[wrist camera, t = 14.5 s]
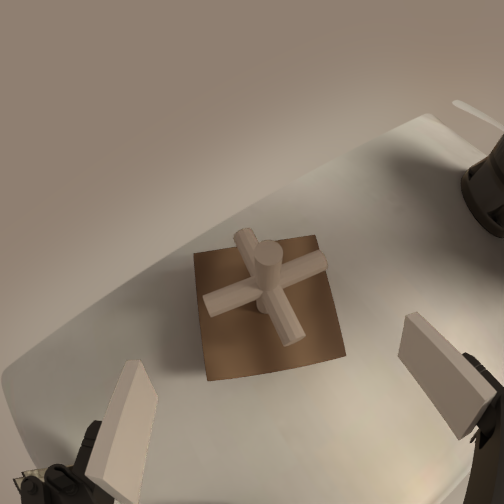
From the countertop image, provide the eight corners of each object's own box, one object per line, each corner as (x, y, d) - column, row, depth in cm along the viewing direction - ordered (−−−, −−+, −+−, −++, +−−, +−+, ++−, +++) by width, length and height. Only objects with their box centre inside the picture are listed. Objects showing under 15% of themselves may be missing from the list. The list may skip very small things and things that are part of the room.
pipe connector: (200, 279, 28) (172, 220, 19) (289, 244, 29) (300, 177, 21) (237, 373, 23) (221, 358, 14) (336, 328, 25) (374, 288, 16)
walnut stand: (308, 254, 34) (315, 234, 29) (333, 359, 28) (346, 355, 24) (202, 271, 33) (193, 253, 29) (215, 380, 27) (207, 381, 23)
